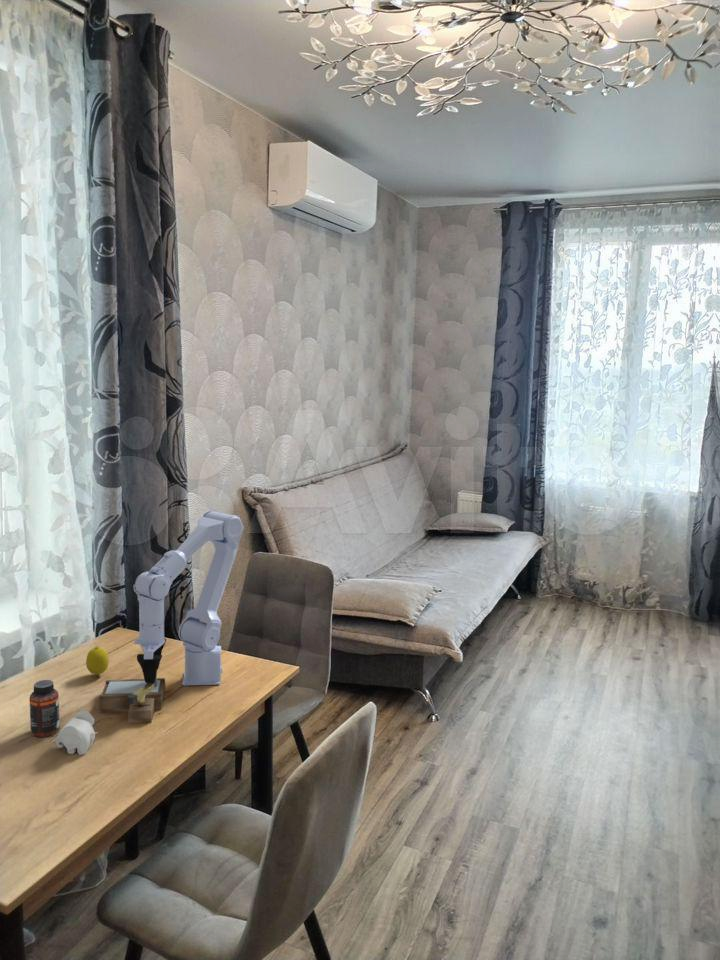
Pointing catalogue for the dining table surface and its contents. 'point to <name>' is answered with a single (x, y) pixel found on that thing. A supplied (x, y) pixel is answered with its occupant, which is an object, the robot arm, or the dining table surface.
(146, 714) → the case
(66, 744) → the elephant figurine
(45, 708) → the supplement bottle
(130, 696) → the lever
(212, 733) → the dining table surface
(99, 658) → the lemon
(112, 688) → the lid
